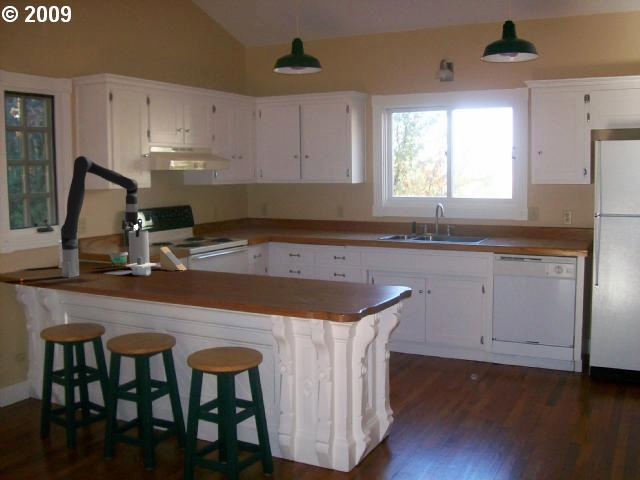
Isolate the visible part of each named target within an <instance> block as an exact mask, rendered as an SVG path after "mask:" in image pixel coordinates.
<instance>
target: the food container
mask: <svg viewBox="0 0 640 480" xmlns="http://www.w3.org/2000/svg"><path fill="white" fill-rule="evenodd" d="M108 255H109V257H110V261H111V267H112V268H118V267H119V268H120V267H126V265H127V262H128V260H127V259H128V255H129V253H128V251H125V252H109V254H108Z"/></svg>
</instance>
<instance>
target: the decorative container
mask: <svg viewBox="0 0 640 480" xmlns="http://www.w3.org/2000/svg"><path fill="white" fill-rule="evenodd" d="M57 244H58V258H59V261H58V262H59V265H58V266H57V267H58V269H62V262H63V256H62V242H61V239H60V240H57Z"/></svg>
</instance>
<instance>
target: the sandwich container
mask: <svg viewBox="0 0 640 480" xmlns="http://www.w3.org/2000/svg"><path fill="white" fill-rule="evenodd" d="M159 258H160V270H165V271H167V272H168V271H169V272H170V271H171V272H176V271H175V270H183V271H187V269H188V268H186V266H184V264H183V263H182V262H181V261H180V259H178V258H177V257H176V255H175V254H174V253H173V252H172V251H171V250H170V248H168V246H164V247H163V246H162V247H159Z"/></svg>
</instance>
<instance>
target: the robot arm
mask: <svg viewBox="0 0 640 480" xmlns="http://www.w3.org/2000/svg"><path fill="white" fill-rule="evenodd" d="M87 173H88V174H93V175H95V176H98V177H100V178H101V179H104V180H106V181H107V182H110V183H112V184H115V185H117V186H119V187H120V188H123V189H125V190H126V196H125V210H124V211H125V219H122V220H121V222H122V223H121V224H122V225H121V229H122V230H124V236H125V237H129V232H130V228H133V229H134V231H136V237H139V231H143V223H142V220H138V218H139V207H138V190H139V189H138V188H139V187H138V185H139V184H138V182H137V180H136V179H134V178H133V179H132V178H130V177H127V176H124V175H123V174H121V173H119V172H117V171H114V170H112V169H109V168H106V167H103V166H101V165H99V164H97V163H96V162H94V161H92V160H91V159H90V158H88V157H87V156H83V155H79V156H77V157H76V158H75V160H74V162H73V172H72V179H71V183H70V187H69V191H68V195H67V202H66V216H65V219H64V223H63V225H62V226H61V228H60V240H61V242H62V256H63V262H62V268H61V276H62V278H76V277H77V278H78V277H79V276H80V264H79V261H80V260H79V243H78V236H77V235H78V229H79V219H80V215H81V211H82V208H83V204H84V199H85V194H86V187H85V186H86V184H85V182H86V176H87Z"/></svg>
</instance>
